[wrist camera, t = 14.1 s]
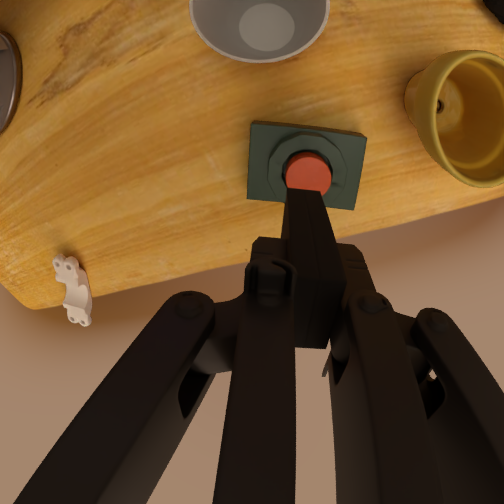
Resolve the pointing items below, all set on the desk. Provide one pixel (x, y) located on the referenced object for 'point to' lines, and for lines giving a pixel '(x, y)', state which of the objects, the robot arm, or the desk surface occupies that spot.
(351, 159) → the button box
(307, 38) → the cup
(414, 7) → the desk surface
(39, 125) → the desk surface
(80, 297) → the white mounting bracket
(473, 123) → the flower pot
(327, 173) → the button
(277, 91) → the desk surface
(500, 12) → the film camera
